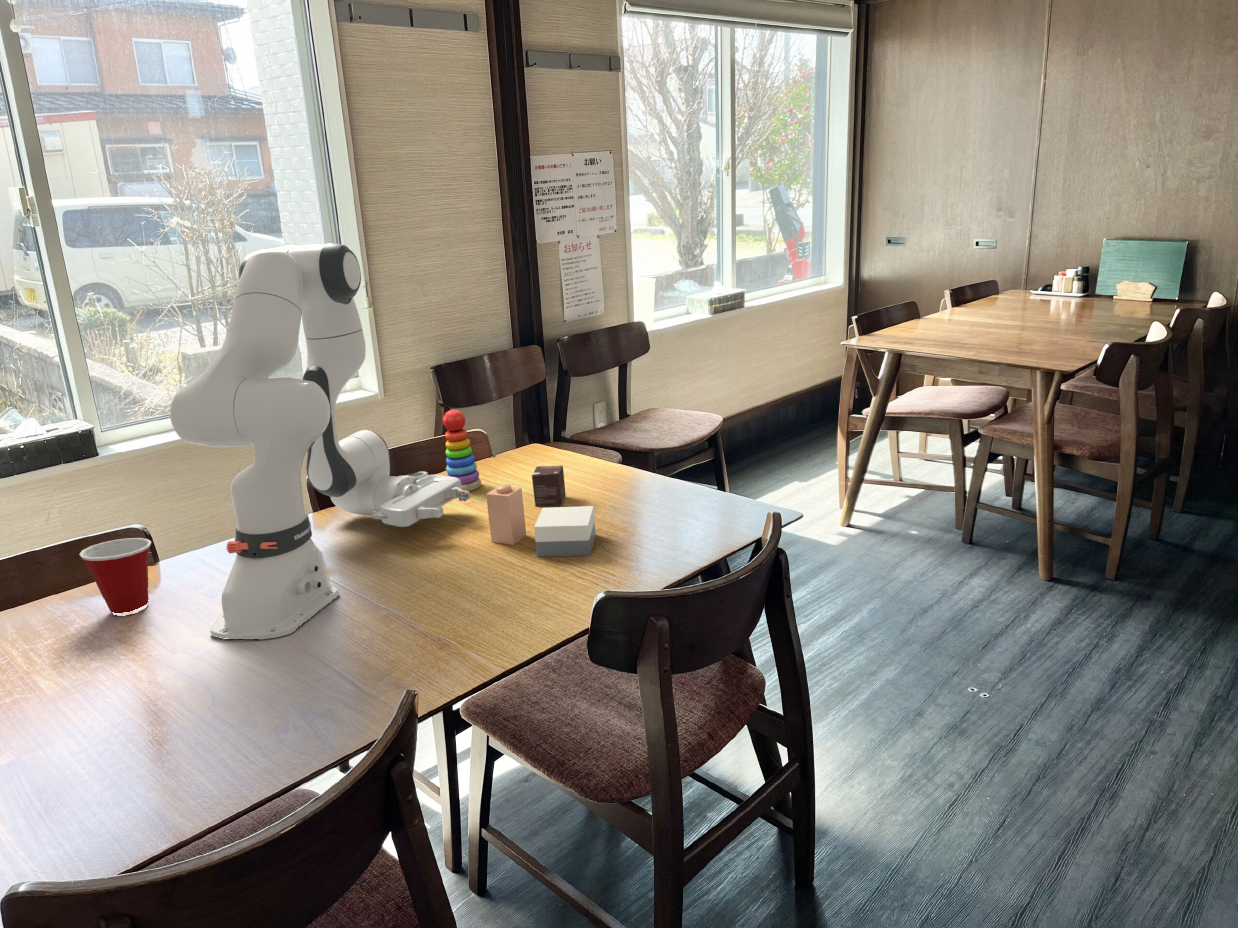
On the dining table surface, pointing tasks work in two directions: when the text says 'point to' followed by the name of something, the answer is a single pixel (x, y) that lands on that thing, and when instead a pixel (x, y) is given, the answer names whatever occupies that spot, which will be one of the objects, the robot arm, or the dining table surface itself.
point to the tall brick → (506, 514)
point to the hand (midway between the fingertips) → (454, 504)
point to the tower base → (566, 547)
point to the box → (548, 485)
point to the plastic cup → (120, 572)
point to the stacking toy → (460, 452)
